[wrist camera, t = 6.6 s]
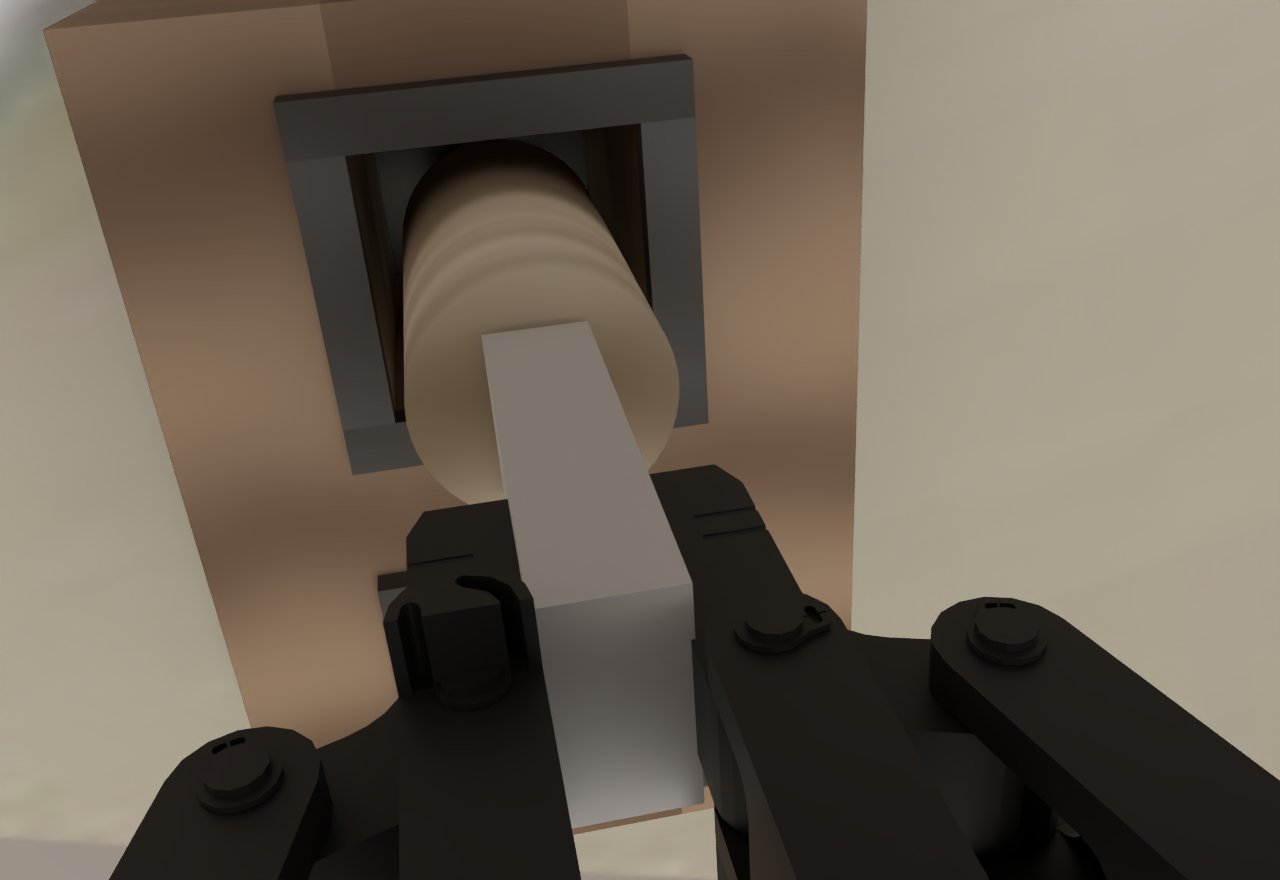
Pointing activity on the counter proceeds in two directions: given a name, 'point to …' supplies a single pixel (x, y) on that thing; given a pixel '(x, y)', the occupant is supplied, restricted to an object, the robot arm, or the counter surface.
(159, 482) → the counter surface
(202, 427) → the walnut block
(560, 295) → the birch dowel
